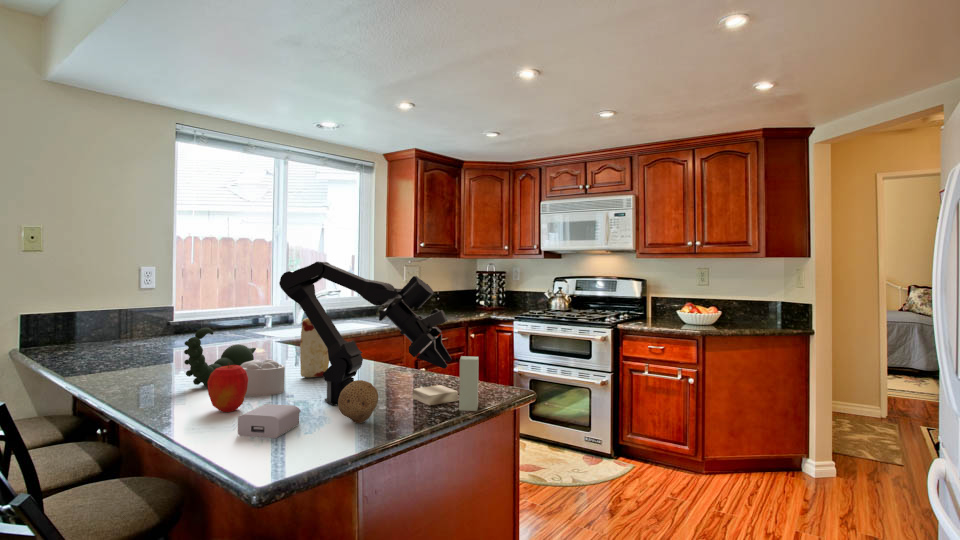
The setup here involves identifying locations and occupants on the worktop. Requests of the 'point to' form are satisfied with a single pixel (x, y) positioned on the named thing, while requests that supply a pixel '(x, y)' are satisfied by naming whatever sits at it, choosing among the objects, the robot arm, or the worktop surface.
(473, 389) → the green pillar
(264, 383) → the lumpy-topped squat cylinder
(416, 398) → the birch block
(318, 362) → the food model
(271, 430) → the charger
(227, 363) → the toy figurine
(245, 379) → the apple
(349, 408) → the natural sponge
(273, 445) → the worktop surface
